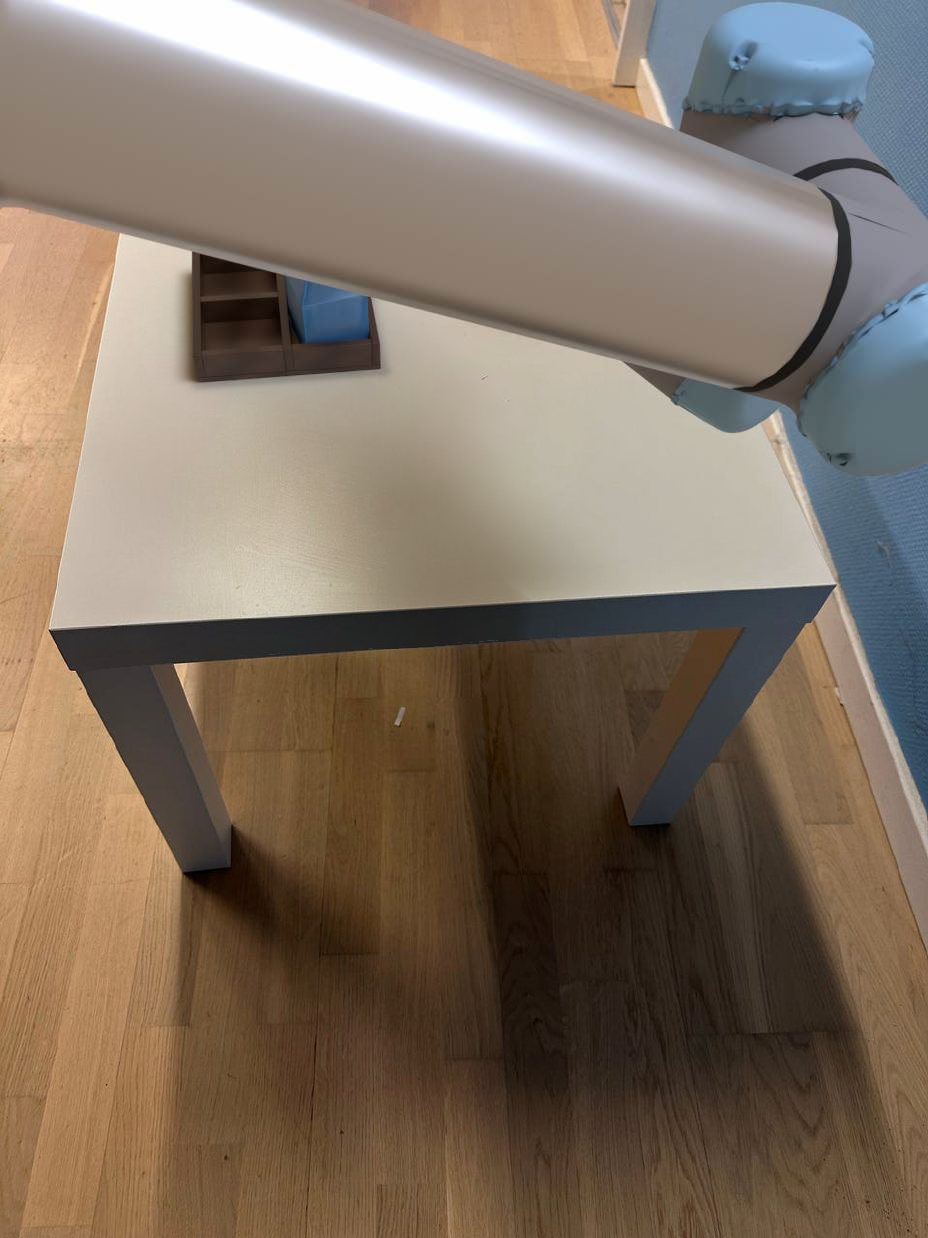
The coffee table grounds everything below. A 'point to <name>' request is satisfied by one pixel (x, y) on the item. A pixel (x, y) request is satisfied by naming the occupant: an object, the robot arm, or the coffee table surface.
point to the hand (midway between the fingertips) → (378, 111)
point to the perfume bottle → (326, 312)
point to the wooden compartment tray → (260, 328)
